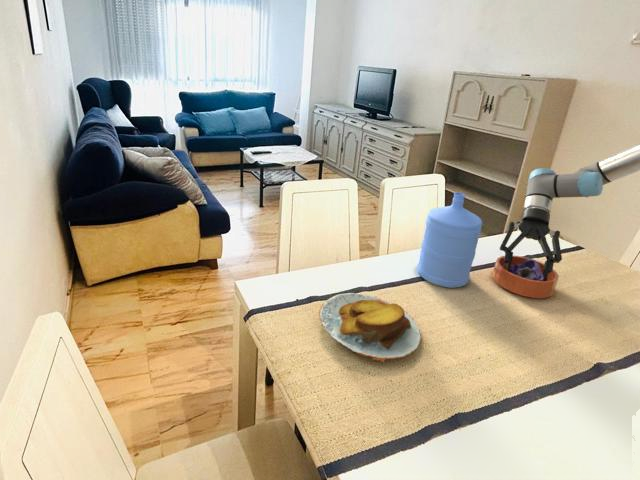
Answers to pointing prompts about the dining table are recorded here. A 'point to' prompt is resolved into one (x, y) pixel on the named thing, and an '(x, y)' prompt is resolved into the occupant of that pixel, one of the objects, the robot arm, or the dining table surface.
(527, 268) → the flower
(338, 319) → the food on plate
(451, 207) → the water jug
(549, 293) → the pot
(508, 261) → the robot arm
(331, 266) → the dining table surface
